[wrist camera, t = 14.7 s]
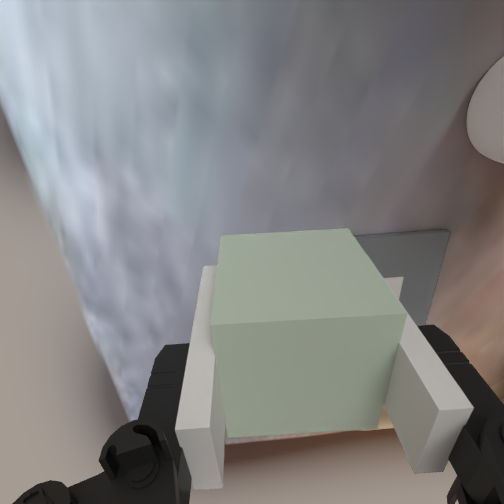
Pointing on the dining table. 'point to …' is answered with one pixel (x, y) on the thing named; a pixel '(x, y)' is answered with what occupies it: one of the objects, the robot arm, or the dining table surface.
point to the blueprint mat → (409, 265)
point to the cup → (488, 114)
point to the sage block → (302, 333)
